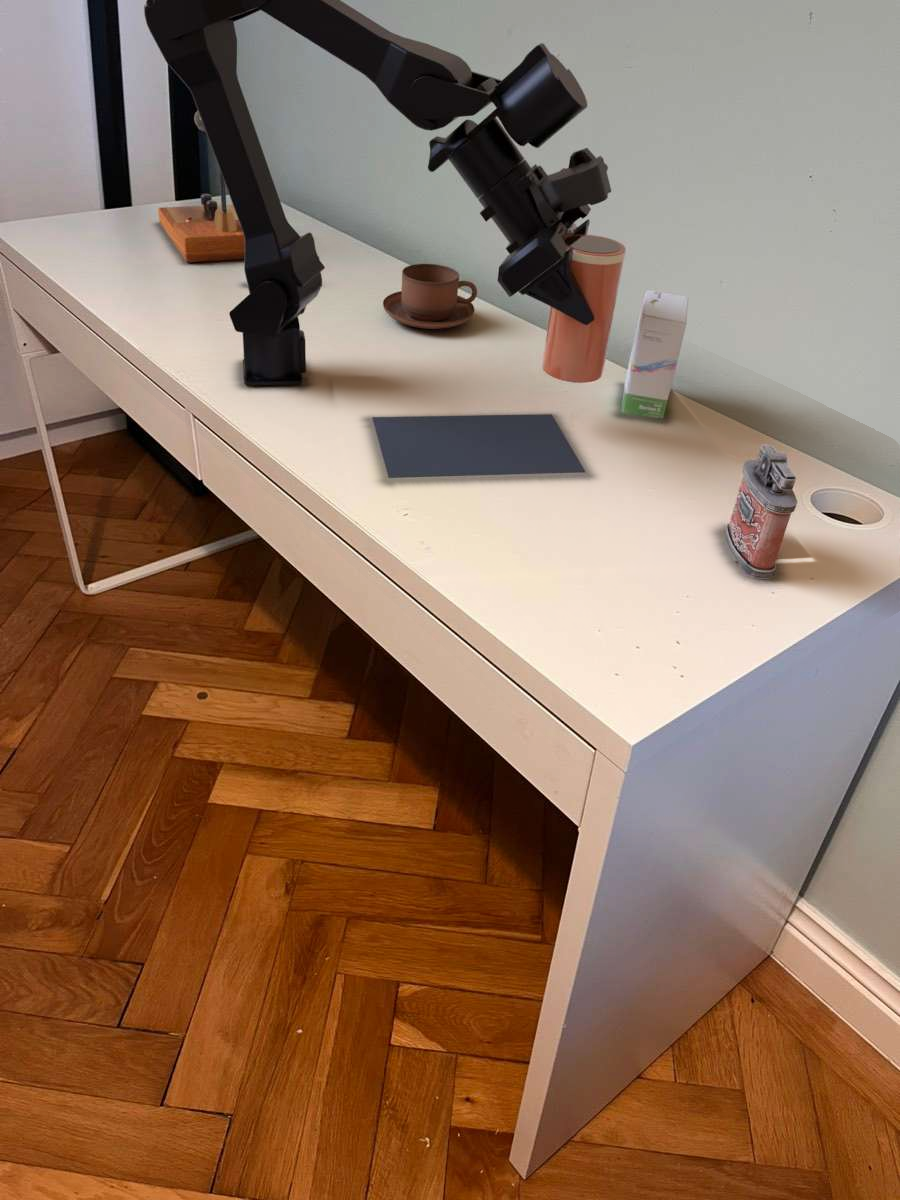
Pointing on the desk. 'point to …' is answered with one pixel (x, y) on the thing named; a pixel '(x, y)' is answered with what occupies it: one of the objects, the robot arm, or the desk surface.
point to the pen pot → (597, 273)
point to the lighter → (761, 512)
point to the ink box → (654, 354)
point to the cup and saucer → (430, 298)
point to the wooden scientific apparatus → (205, 226)
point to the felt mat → (474, 445)
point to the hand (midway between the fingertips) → (595, 311)
